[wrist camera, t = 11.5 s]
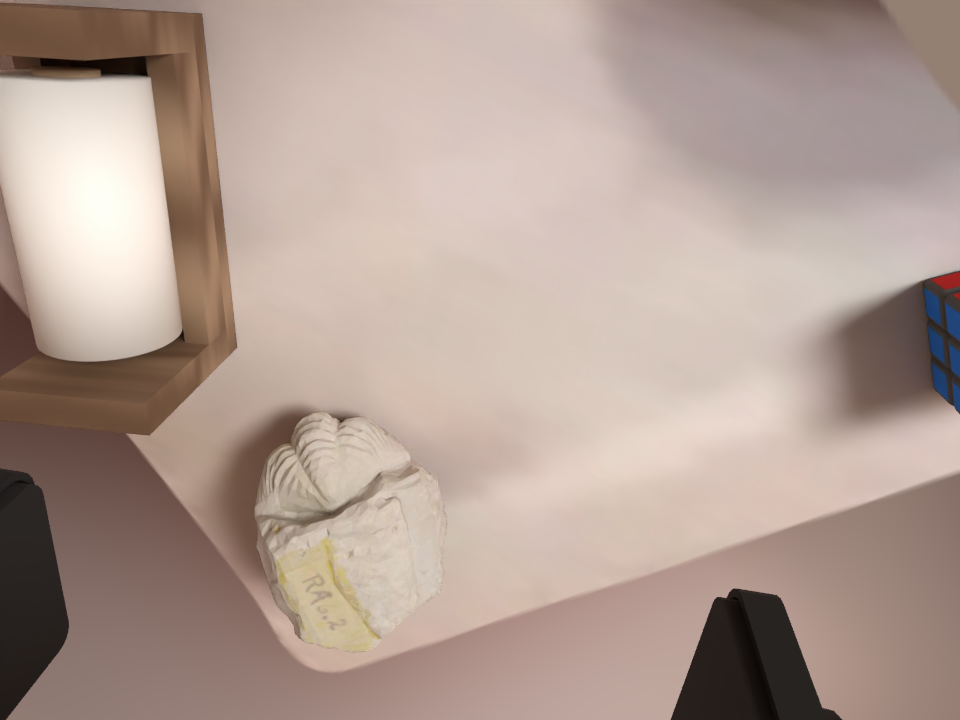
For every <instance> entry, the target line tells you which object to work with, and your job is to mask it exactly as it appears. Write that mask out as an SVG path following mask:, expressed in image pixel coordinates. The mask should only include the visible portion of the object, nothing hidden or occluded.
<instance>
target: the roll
mask: <svg viewBox="0 0 960 720" xmlns="http://www.w3.org/2000/svg"><path fill="white" fill-rule="evenodd" d="M0 186H1V190H2V194H3V199H4V203H5V208H6V212H7V217H8V221H9V226H10V230H11V235H12V239H13V243H14V248H15V252H16V257H17V261H18V266H19V270H20V275H21V279H22V283H23V288H24V292H25V297H26V301H27V306H28V310H29V315H30V319H31V324H32V328H33V332H34V336H35V341H36V346H37V348H38V349H39V350H40V351H41V352H42V353H44V354H46V355H48V356H51V357H54V358H58V359H63V360H69V361H84V362H91V361H108V360H117V359H123V358H129V357H133V356H138V355H142V354H145V353H148V352H151V351H154V350H157V349H159V348H162V347H164V346H166V345H168V344H169V343H171V342H173V341H174V340H175V339H176V338H178V337H179V335H180V334H181V332H182V329H183V326H182V318H181V311H180V303H179V295H178V287H177V279H176V272H175V264H174V256H173V248H172V240H171V232H170V225H169V217H168V209H167V201H166V193H165V186H164V178H163V170H162V162H161V154H160V146H159V139H158V131H157V123H156V115H155V107H154V100H153V92H152V84H151V78H150V77H148V76H145V75H139V74H132V73H122V72H110V71H101V70H100V69H97V68H88V67H71V66H37V67H31V68H30V69H10V70H0Z"/></svg>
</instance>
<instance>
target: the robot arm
mask: <svg viewBox="0 0 960 720" xmlns="http://www.w3.org/2000/svg"><path fill="white" fill-rule="evenodd" d="M68 629H69V621H68V616H67V611H66V606H65V601H64V596H63V591H62V586H61V581H60V576H59V571H58V565H57V560H56V555H55V550H54V546H53V540H52V535H51V531H50V525H49V520H48V515H47V510H46V506H45V500H44V495H43V492H42V489H41V488H40V487H39V486H36V485H35V484H34V481H33V479H32V477H31V476H30V475H29V474H27V473H24V472H19V471H12V470H6V469H0V720H6V719H7V717H8V716H9V715H10V714H11V712H12V711H13V710H14V709H15V707H16V706H17V705H18V703H19V702H20V701H21V700H22V698H23V697H24V696H25V694H26V693H27V692H28V690H29V689H30V688H31V687H32V686H33V684H34V683H35V682H36V680H37V679H38V678H39V676H40V675H41V674H42V673H43V671H44V670H45V669H46V668H47V666H48V665H49V664H50V663H51V661H52V660H53V659H54V657H55V656H56V655H57V654H58V652H59V651H60V649H61V648H62V646H63V644H64V642H65V640H66V637H67V634H68ZM671 720H842V719H841V718H840V717H839V716H838V715H837V714H836V713H835V712H834V711H832V710H829V709H824V708H822V707H821V704H820V701H819V698H818V695H817V693H816V690H815V688H814V685H813V682H812V680H811V677H810V674H809V671H808V669H807V666H806V663H805V660H804V658H803V655H802V652H801V650H800V647H799V645H798V642H797V639H796V636H795V634H794V631H793V628H792V626H791V623H790V620H789V617H788V615H787V612H786V609H785V607H784V604H783V602H782V600H781V598H779V597H778V596H777V595H773V594H766V593H760V592H754V591H748V590H741V589H732V590H731V591H730V592H729V594H728V596H727V598H722V597H717V598H716V599H715V600H714V602H713V604H712V608H711V610H710V613H709V615H708V618H707V621H706V624H705V626H704V629H703V632H702V635H701V638H700V641H699V643H698V646H697V649H696V651H695V654H694V657H693V660H692V662H691V665H690V668H689V671H688V673H687V676H686V679H685V682H684V685H683V687H682V690H681V693H680V696H679V698H678V701H677V704H676V707H675V709H674V712H673V715H672V718H671Z"/></svg>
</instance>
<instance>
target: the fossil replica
mask: <svg viewBox="0 0 960 720" xmlns="http://www.w3.org/2000/svg"><path fill="white" fill-rule="evenodd" d="M255 521H256V523H257V545H256V548H257V550H258V552H259V554H260V557H261V562H262V565H263V568H264V571H265V574H266V577H267V580H268V584H269V586H270V589H271V591H272V595H273V597H274V600H275V602H276V605H277V606H278V607H279V608H280V610H281V611H282V612H283V613H284V614H285V615H287V616H288V618H289V619H290V621H291V622H292V624H293V625H294V631H295V634H296V635H297V636H298V637H299V639H301V640H303V641H304V642H306V643H310V644H317V645H319V646H321V647H323V648H335V649H339V650H343V651H348V652H351V653H355V652H365V651H369V650H371V649H374V648H375V647H376V646H377V645H378V644H379V643H380V642H381V640H382V639H383V638H384V637H385V636H386V635H387V634H388V633H390V632H391V631H392V630H393V629H394V628H395V627H396V626H397V625H398V624H400V623H402V622H403V621H404V619H405V618H406V617H407V616H408V615H410V614H412V613H413V612H414V610H415V609H416V608H417V607H419V606H422V605H424V604H425V603H426V602H427V601H429V600H430V599H432V598H433V597H435V596H436V595H439V594H440V592H441V590H442V584H443V582H442V579H443V576H444V569H443V545H444V540H445V534H446V529H447V516H446V513H445V511H444V504H443V500H442V497H441V494H440V488H439V484H438V479H437V478H436V477H435V476H434V475H432V474H430V473H428V472H427V471H425V470H424V469H423V468H422V467H421V466H420V465H419V464H417V463H415V462H412V461H411V460H410V454H409V452H408V450H407V449H406V448H404V447H403V445H401V444H400V443H399V442H398V441H397V440H396V438H395V437H393V436H392V435H391V434H390V433H388V432H387V431H386V430H384V429H381V428H380V427H379V426H378V425H377V424H375V423H374V422H372V421H371V420H369V419H368V418H364V417H354V418H348V419H345V420H344V421H343V422H342V423H341V422H340V421H339V420H337V419H336V418H332V417H331V416H330V415H329V414H327V413H326V412H323V411H322V412H314V413H312V414H310V415H307V416H305V417H303V418H302V419H301V420H300V421H299V422H298V423H297V424H296V427H295V430H294V432H293V435H292V437H291V443H285V444H282V445H281V446H279V447H277V448H275V449H274V450H273V451H272V452H271V453H270V455H269V456H268V458H267V459H266V461H265V464H264V466H263V469H262V474H261V477H260V483H259V485H258V491H257V500H256V504H255Z"/></svg>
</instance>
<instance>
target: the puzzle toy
mask: <svg viewBox="0 0 960 720" xmlns="http://www.w3.org/2000/svg"><path fill="white" fill-rule="evenodd" d="M923 288H924V297H925V305H926V314H927V317H928V318H930V320H929V321H928V324H927V326H928V335H929V343H930V352H931V354H932V355H933V356H934V357H933V358H932V360H931V365H932V374H933V384H934V388H935V390H936V391H937V392H938V393H939V394H940V395H941V396H942V397H943V398H944V399H945V400H946V401H947V402H948V403H949V404H951V405H953V406H954V407H955V409H956V411H957V412H958V413H959V414H960V271H959V272H955V273H951V274H947V275H943V276H940V277H936V278H932V279H928V280H926V281H925V283H924V285H923Z"/></svg>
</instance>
